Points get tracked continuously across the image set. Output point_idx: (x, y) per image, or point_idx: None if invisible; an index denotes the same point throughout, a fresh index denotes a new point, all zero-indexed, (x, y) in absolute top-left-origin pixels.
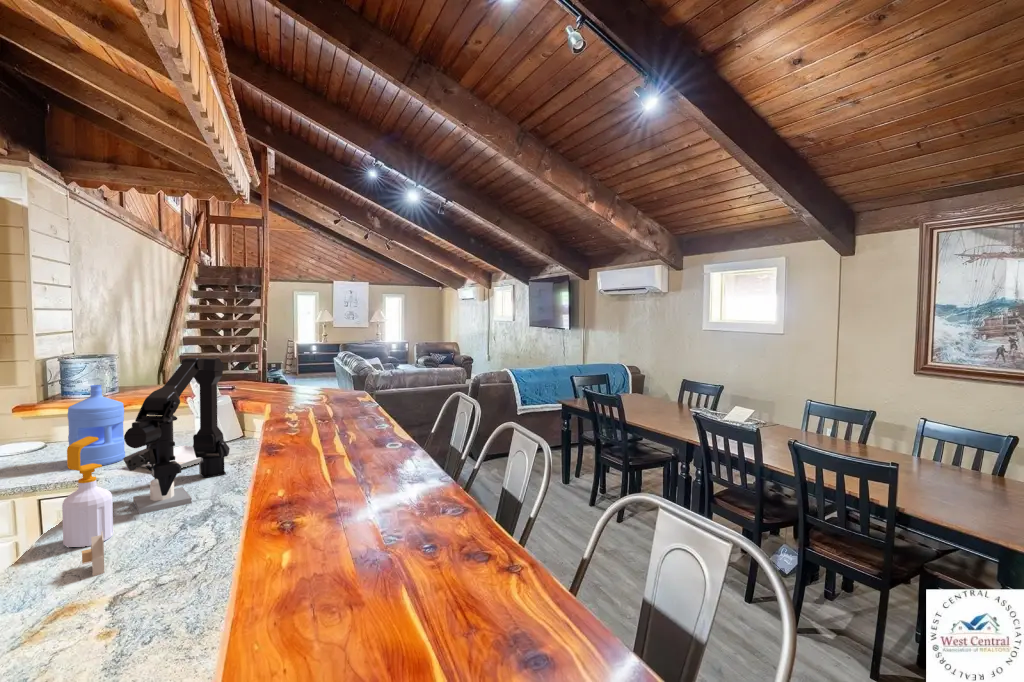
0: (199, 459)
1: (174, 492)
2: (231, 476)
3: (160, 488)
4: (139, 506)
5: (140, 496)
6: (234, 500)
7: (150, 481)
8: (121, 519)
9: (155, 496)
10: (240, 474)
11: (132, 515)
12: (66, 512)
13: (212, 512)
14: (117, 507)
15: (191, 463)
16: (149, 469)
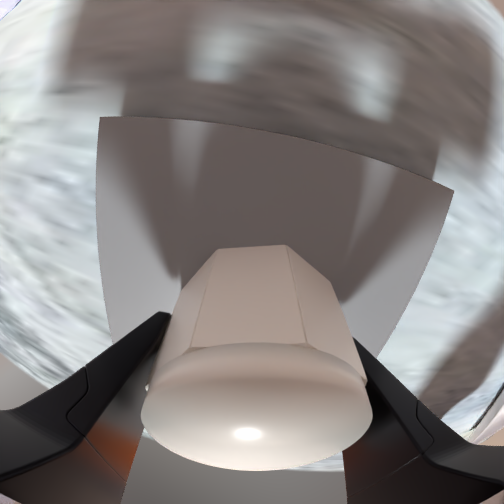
0: (486, 424)
1: None
2: (335, 461)
3: (107, 349)
4: (152, 125)
5: (418, 222)
6: None
7: (323, 383)
8: (116, 23)
9: (204, 277)
10: (327, 468)
11: (133, 77)
12: None
13: (10, 331)
14: (407, 73)
15: (494, 409)
16: (475, 484)
